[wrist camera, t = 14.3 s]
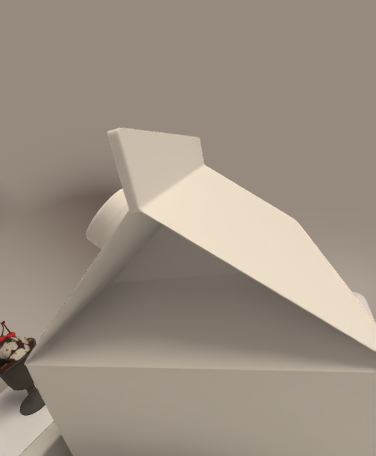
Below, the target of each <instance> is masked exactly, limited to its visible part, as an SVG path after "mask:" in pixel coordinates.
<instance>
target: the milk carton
mask: <svg viewBox="0 0 376 456" xmlns="http://www.w3.org/2000/svg"><path fill="white" fill-rule="evenodd" d="M107 134H108V139H109V142H110V146H111V149H112V153H113V156H114V160H115V163H116V167H117V170H118V174H119V177H120V181H121V184H122V188H123V189H121V190H119V191H118V192H117V193H115V194H114V195H113V196H112V197H111V198H110V199H109V200H108V201H107V202H106V203H105V204H104V205H103V206H102V207H101V209H100V210H99V211H98V213H97V214H96V215H95V217H94V218H93V220H92V221H91V223H90V225H89V227H88V230H87V232H86V237H87V239H88V240H90V241H91V242H92V243H94V244H95V245H96V246H98V247H100V248H101V251H100V252H99V254H98V255H97V257H96V258H95V260H94V261H93V263H92V264H91V266H90V267H89V268H88V270H87V271H86V273H85V275H84V276H83V277H82V279H81V280H80V282H79V283H78V284H77V286H76V287H75V289H74V290H73V292H72V293H71V295H70V296H69V298H68V299H67V300H66V302H65V303H64V305H63V306H62V308H61V309H60V311H59V312H58V314H57V315H56V317H55V318H54V320H53V321H52V322H51V324H50V325H49V327H48V328H47V330H46V331H45V333H44V334H43V335H42V337H41V338H40V340H39V341H38V343H37V344H36V345H35V347H34V348H33V350H32V351H31V353H30V354H29V356H28V358H27V359H26V361H25V363H24V365H26V366H27V368H28V371H29V373H30V375H31V377H32V379H33V381H34V383H35V385H36V387H37V389H38V391H39V393H40V395H41V397H42V399H43V401H44V403H45V405H46V406H47V408H48V410H49V412H50V414H51V416H52V418H53V420H54V421H55V423H56V425H57V427H58V429H59V431H60V433H61V434H62V436H63V438H64V440H65V442H66V444H67V446H68V448H69V449H70V451H71V453H72V455H73V456H376V323H375V322H374V320H373V319H372V318H371V317H370V315H369V314H368V313H367V311H366V310H365V309H364V307H363V306H362V305H361V303H360V302H359V301H358V300H357V298H356V297H355V296H354V294H353V293H352V292H351V291H350V289H349V288H348V287H347V286H346V284H345V283H344V281H343V280H342V279H341V278H340V276H339V275H338V274H337V272H336V271H335V270H334V268H333V267H332V266H331V264H330V263H329V262H328V261H327V259H326V258H325V257H324V255H323V254H322V253H321V251H320V250H319V249H318V248H317V246H316V245H315V244H314V242H312V240H311V238H310V237H309V236H308V235H307V233H306V232H305V231H304V229H303V228H302V227H301V226H300V224H299V223H298V222H297V221H296V220H295V219H293V218H292V217H290V216H288V215H287V214H285V213H283V212H282V211H280V210H278V209H277V208H275V207H273V206H272V205H270V204H268V203H267V202H265V201H263V200H262V199H260V198H258V197H257V196H255V195H253V194H252V193H250V192H249V191H247V190H245V189H243V188H242V187H240V186H238V185H237V184H235V183H234V182H232V181H230V180H229V179H227V178H225V177H224V176H222V175H220V174H219V173H217V172H215V171H214V170H212V169H210V168H209V167H207V166H205V165H204V161H203V155H202V150H201V144H200V139H199V137H192V136H184V135H176V134H169V133H160V132H153V131H145V130H137V129H129V128H118V129H115V130H111V131H108V133H107Z"/></svg>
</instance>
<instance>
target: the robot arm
mask: <svg viewBox="0 0 376 456" xmlns="http://www.w3.org/2000/svg"><path fill="white" fill-rule="evenodd" d="M19 456H73V455H72V453H71V451H70V449H69V448H68V446H67V444H66V442H65V440H64V438H63V436H62V434H61V433H60V431H59V429H58V427H57V425H56V423H55V421H54V422H53V423H52V424H51V425H49V426H48V427H47V428H46V429H45V430H44V431H43V432H42V433H41V434H40V435H39V436H38V437H37V438H36V439H35V440H34V441H33V442H32V443H31V444H30V445H29V446H28V447H27V448H26V449H25V450H24V451H23V452H22V453H21V454H20V455H19Z"/></svg>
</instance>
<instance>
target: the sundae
mask: <svg viewBox="0 0 376 456" xmlns="http://www.w3.org/2000/svg"><path fill="white" fill-rule="evenodd" d="M4 323H5V321H3V322H2V323H1V324H2V327H3V325H4V326H5V324H4ZM5 327H6V326H5ZM6 329H7V327H6ZM7 330H8V332H9V333H8V334H7V335H6V336H3V331H4V327H3V331H2V335H1V336H0V377H1V378H2V379H3V380H4V381H5V382H6V384H7V385H8V386H10V387H11V388H12V389H13V390H23V389H26V390H27V392H28V396H27V397H26V398H25V399H24V401H23V402H22V404H21V406H20V413H21V414H23V415H29V414H32V413H34V412H36V411H38V410H39V409H41V408H42V407H43V406H44V405H45V403H44V401H43V399H42V397H41V395H40V393H39V391H38V389H36V388H35V386H34V381H33V379H32V377H31V375H30V373H29V371H28V368H27V366H26V365H24V363H25V361H26V359H27V358H28V356H29V354H30V353H31V351H32V350H33V348H34V347H35V345H36V341H35V339H34V338H27V339H25V337H22V336H15V333H14V332H10V331H9V329H7Z"/></svg>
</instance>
